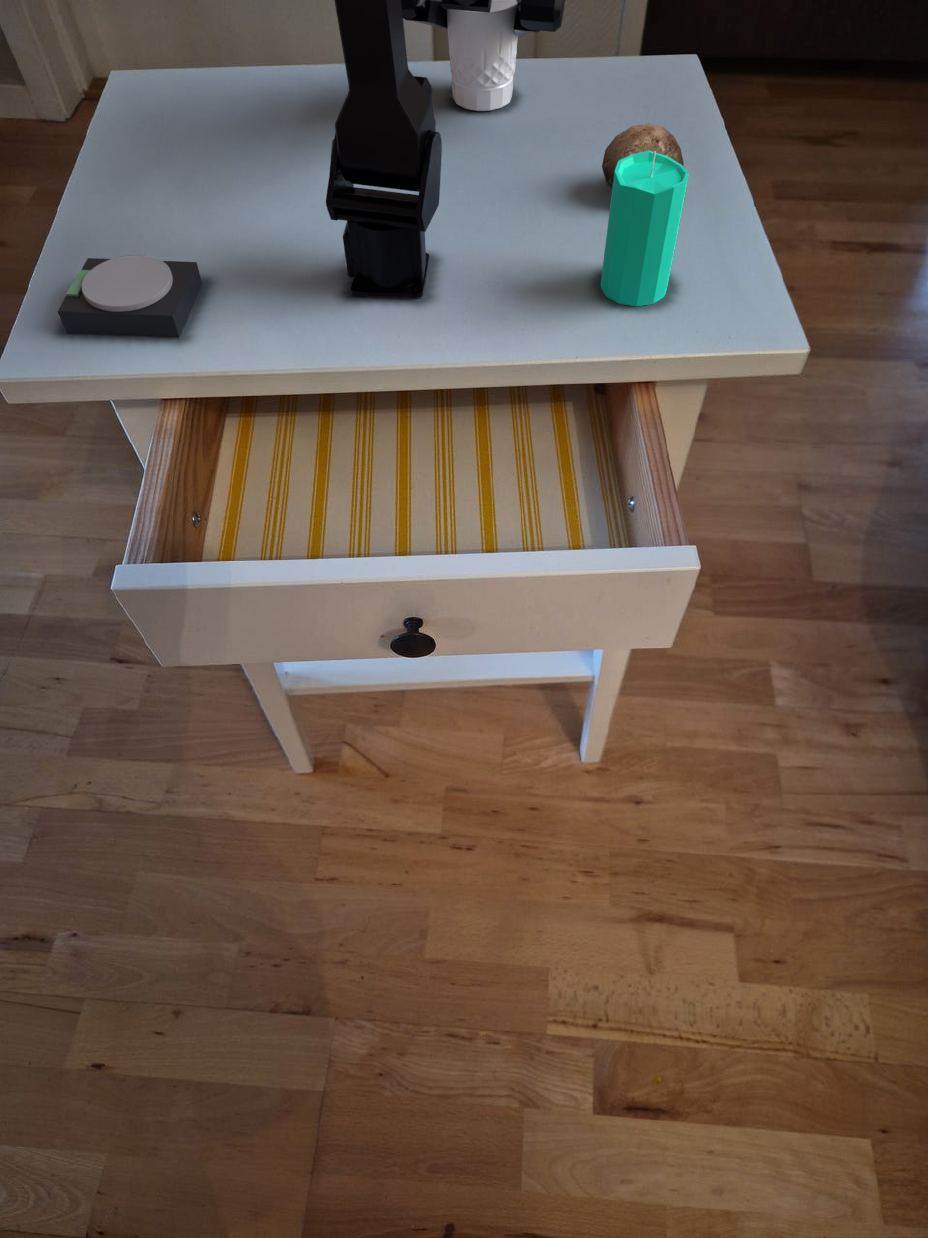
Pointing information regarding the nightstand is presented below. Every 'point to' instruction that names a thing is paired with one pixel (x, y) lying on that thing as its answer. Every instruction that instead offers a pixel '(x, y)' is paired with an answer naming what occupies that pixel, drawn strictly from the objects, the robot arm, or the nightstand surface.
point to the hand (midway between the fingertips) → (485, 28)
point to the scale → (131, 297)
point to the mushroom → (639, 147)
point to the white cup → (483, 55)
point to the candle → (642, 227)
